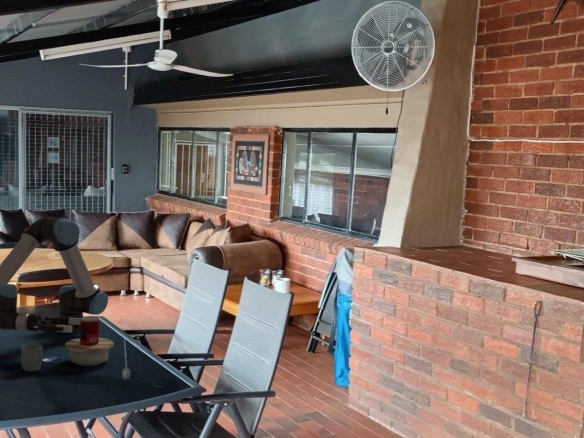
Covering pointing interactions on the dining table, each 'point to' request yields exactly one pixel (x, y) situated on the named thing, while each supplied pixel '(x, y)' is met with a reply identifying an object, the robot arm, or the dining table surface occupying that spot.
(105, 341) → the bowl cover
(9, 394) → the dining table surface
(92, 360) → the bowl
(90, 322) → the canned food
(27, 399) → the dining table surface
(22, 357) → the cup
